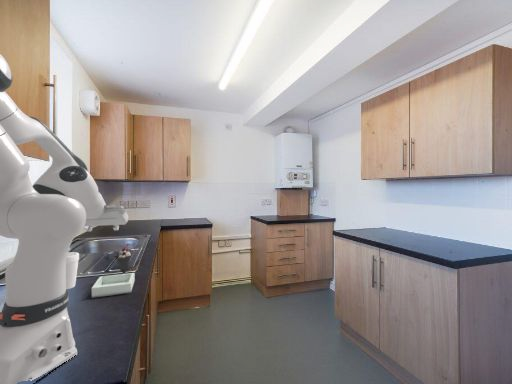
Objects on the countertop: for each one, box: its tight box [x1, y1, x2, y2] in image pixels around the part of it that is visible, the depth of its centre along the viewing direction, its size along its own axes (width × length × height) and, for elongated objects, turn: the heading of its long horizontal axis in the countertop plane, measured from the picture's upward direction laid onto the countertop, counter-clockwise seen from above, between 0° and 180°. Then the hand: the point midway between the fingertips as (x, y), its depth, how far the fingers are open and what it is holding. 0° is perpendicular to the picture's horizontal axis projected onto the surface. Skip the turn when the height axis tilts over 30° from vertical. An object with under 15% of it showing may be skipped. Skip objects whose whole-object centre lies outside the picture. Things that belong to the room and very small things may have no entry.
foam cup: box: [66, 251, 80, 291], centre depth 106 cm, size 10×9×13 cm
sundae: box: [114, 243, 133, 274], centre depth 115 cm, size 7×7×15 cm
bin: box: [91, 272, 136, 299], centre depth 104 cm, size 13×13×4 cm
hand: (103, 229), depth 101 cm, fingers open, 8 cm apart
